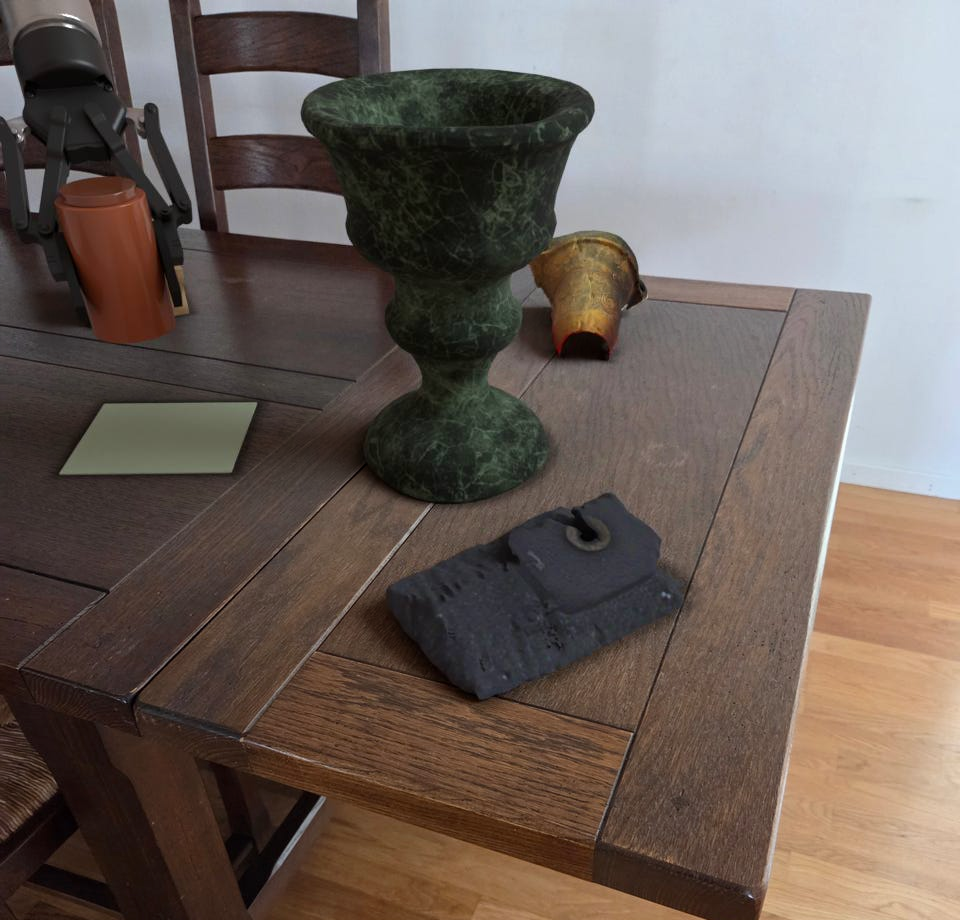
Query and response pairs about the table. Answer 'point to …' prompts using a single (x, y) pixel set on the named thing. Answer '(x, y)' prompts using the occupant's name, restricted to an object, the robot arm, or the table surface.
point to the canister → (116, 258)
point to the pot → (588, 284)
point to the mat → (162, 439)
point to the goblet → (451, 253)
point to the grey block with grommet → (536, 596)
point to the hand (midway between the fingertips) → (130, 306)
